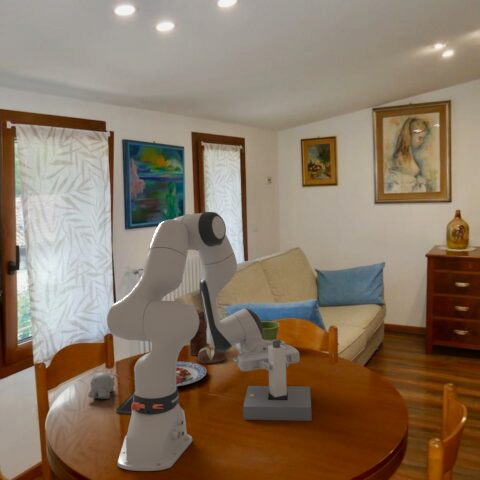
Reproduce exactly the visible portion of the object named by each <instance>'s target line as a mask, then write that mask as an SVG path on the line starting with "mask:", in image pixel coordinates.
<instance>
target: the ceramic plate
mask: <svg viewBox="0 0 480 480" xmlns="http://www.w3.org/2000/svg"><path fill="white" fill-rule="evenodd" d="M206 375H207V368H206V367H205V366H203V365H201V364H200V363H199V364H198V363H196V362H190V361H177V364H176V387H180V386H187V385H190V384H194V383H196V382H198V381H200V380H202V379H203V378H204V377H205V376H206Z"/></svg>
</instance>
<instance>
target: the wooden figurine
mask: <svg viewBox="0 0 480 480" xmlns="http://www.w3.org/2000/svg"><path fill="white" fill-rule="evenodd" d="M196 311H197V313H198V316H199V328H198V331H197V333H196V334H195V336H194V337H193V338H192V339H191V340H190V341H189V355H190V356H198V354H199V351H200V350H201V349H202V348H204V347H208V345H207V344H208V337H207V329H206V321H205V316H204V311H203V310H201V309H196Z"/></svg>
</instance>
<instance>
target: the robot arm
mask: <svg viewBox="0 0 480 480" xmlns="http://www.w3.org/2000/svg"><path fill="white" fill-rule="evenodd" d="M226 233H227V227H226V224H225V220H224V219H223V217H221V215H220V214H219V213H217V212H214V211H204V212H200V213H199V212H198V213H189V214H184V215H181V216H177V217H174V218H173V217H172V218H169V219H165V220H162V221H161V222H160V223H159V224H158V226H157V227H156V229H155V231H154V234H153V236H152V238H151V241H150V245H149V248H148V252H147V255H146V259H145V263H144V266H143V270H142V273H141V275H140V278H139V279H138V281H137V282H136V284H135V285H134V286H133V288H132V289H131V290H130V291H129V292H128V293H127V294H126V295H125V296H124V297H123V298H121V299H119V300H118V301H116V302H115V303H114V304H112V306H111V307H110V309H109V310H108V313H107V317H106V323H107V324H106V325H107V328H108V330H109V332H110V334H112V336H114V337H118V338H119V339H124V340H126V341H127V340H128V341H135V342H136V341H138V342H150V343H151V349H150V351H149V352H148V353H146V354H143V355H142V356H141V357H139V358H138V359H137V361H136V362H135V365H134V367H133V368H134V369H133V371H134V390H135V391H134V392H133V393H134V397H133V403H132V406H131V408H132V414H130V420H129V424H128V427H127V433H126V435H125V436H124V439H123V441H122V442H123V443H122V446H121V449H120V453H119V455H118V456H119V457H118V460H117V464H116V465H117V467H118V468H121V469H122V470H123V469H124V470H128V471H137V472H154V471H155V472H156V471H163V470H166V469H169V468H172V467H173V465H174V464H175V463H176V462H177V461H178V459H180V457H181V456H182V455H183V453H184V452H185V451H186V450H187V449H188V447H189V446H190V445H191V444H192V443H193V437H192V435H190V434H188V433H187V422H186V415H185V410H184V409H183V408H182V407H181V406H180V404H179V399H180V398H179V397H180V396H179V395H180V393H179V388H178V386H176V364H177V362H178V358H179V355H180V354H181V353H180V352H182V349H183V348H184V346H185V345H186V344H187V343H189V342H190V340H191V339H192V338H193V337H194V336H195V334H196V333H197V331H198V328H199V316H198V313H197V311H196V310H197V309H196V308H195V307H194V306H193V305H192V304H189V303H187V302H181V301H178V300H163V299H164V297H166V295H168V294H170V293H172V292H174V291H176V290H177V289H178V288H179V287H180V286H181V284H182V282H183V278H184V277H183V276H184V273H185V268H186V263H187V257H188V252H189V251H196V250H197V251H198V255H199V259H200V262H201V264H202V267H203V274H202V277H201V280H200V281H199V292H200V293H199V294H200V299H201V304H202V311H203V312H204V316H205V321H206V333H207V342H208V343H209V345H210V347H211V349H212V348H213V349H214V350H217V351H221V352H224V353H225V352H226V351H228V350H230V349H232V347H234V346H235V348H236V350H237V352H238V355H237V356H235V357H233V359H232V360H233V362H234V363H236V364H237V366H238V367H237V368H239V370H240V371H242V372H249V371H256V370H266V371H268V372H269V370H272V364H271V363H269V362H268V346H270V345H273V341H270V340H264V339H262V338H261V337H262V335H263V327H262V323H261V322H262V321H261V319H260V318H259V316H258V315H257V313H256V312H254V311H253V310H251V309H249V308H246V307H243V308H242V309H240V310H237V311H235V312H234V313H232V314H230V315H228V316H226V317H225V318H224V317H223V318H222V319H221V320H220V318H219V314H218V307H217V297H218V296H219V294H220V293H221V291H222V290H223V289H224V288H225V287H226V285H228V284H229V283H230V282H231V281H232V280H233V278H234V276H235V275H236V272H237V269H238V263H237V262H238V260H237V258H236V254H235V252H234V249H233V247H232V244H231V242H230V240H229V238H228V236H227V234H226ZM280 345H282V346H284V347H285V353H286V369H287V368H289V365H291V364H297V363H299V362H300V352H299V350H298V349H296V348H295V347H294V346H291V345H289V344H286V341H284V340H280Z"/></svg>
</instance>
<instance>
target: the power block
mask: <svg viewBox="0 0 480 480" xmlns="http://www.w3.org/2000/svg"><path fill="white" fill-rule="evenodd" d="M246 389H247V390H246V393H245V397H244V402H243V405H242V413H243V415H242V416H243V420H245V421H247V420H249V421H250V420H251V421H252V420H254V421H255V420H256V421H257V420H258V421H298V422H299V421H302V422H303V421H304V422H305V421H307V422H309V421H310V422H312V419H313V418H312V416H313V415H312V398H311V396H312V395H311V387H310V386H293V385H292V386H287V385H286V389H287V395H284V396H279V397H274V396H273V395H272V394H270V393H269V385H263V386H262V385H248V386H247V388H246Z"/></svg>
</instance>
